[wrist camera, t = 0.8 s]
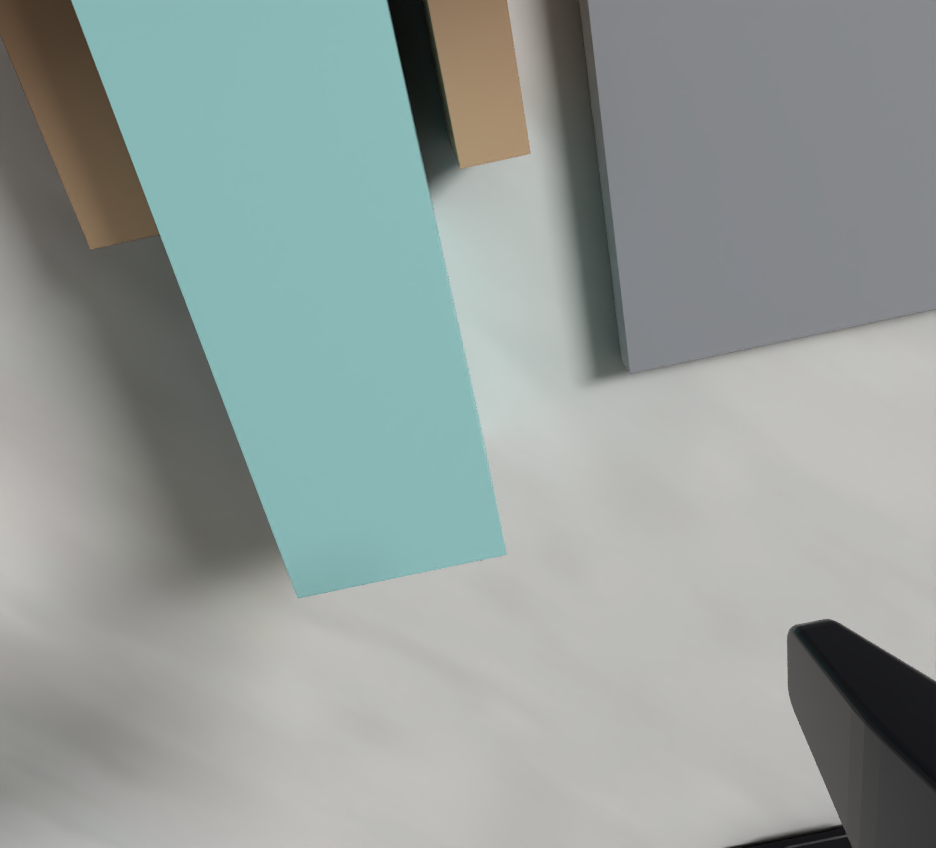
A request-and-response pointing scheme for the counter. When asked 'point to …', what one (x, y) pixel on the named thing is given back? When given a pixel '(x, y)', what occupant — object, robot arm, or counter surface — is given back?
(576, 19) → the counter surface
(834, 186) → the coaster
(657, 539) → the counter surface
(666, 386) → the counter surface
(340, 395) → the block
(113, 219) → the bay
